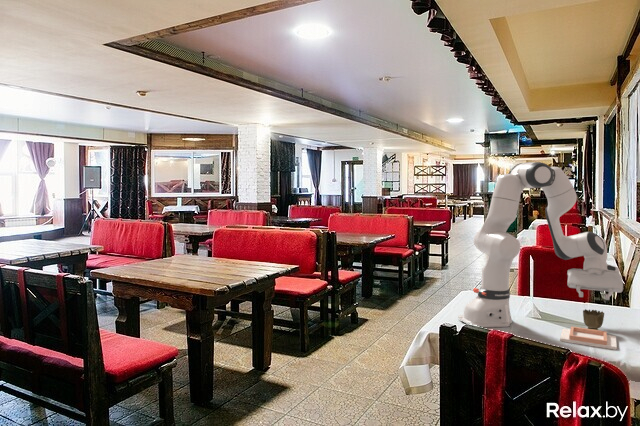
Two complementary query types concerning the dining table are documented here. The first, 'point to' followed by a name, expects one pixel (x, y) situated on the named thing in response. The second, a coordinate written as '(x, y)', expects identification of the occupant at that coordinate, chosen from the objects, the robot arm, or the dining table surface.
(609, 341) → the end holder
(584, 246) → the robot arm
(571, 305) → the dining table surface
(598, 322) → the cup
